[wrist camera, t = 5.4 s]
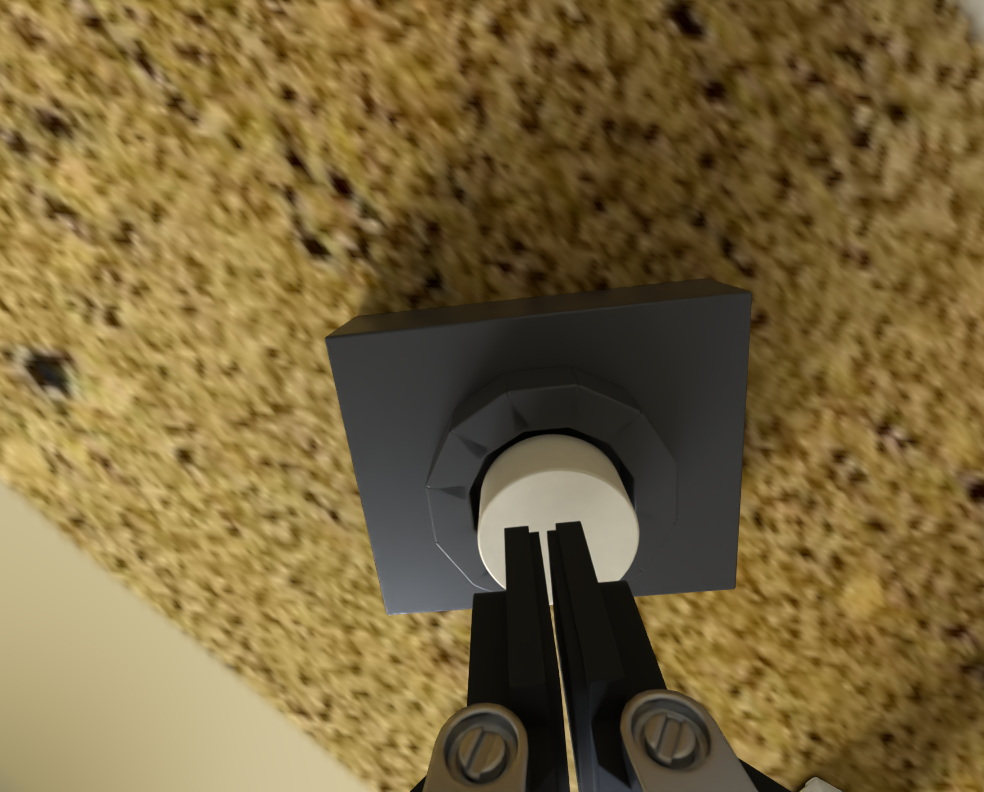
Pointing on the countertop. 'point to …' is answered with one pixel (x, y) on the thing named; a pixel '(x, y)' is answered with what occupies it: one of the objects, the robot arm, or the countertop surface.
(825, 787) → the syrup box
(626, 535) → the white push button
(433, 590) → the dark grey button base
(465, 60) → the countertop surface
